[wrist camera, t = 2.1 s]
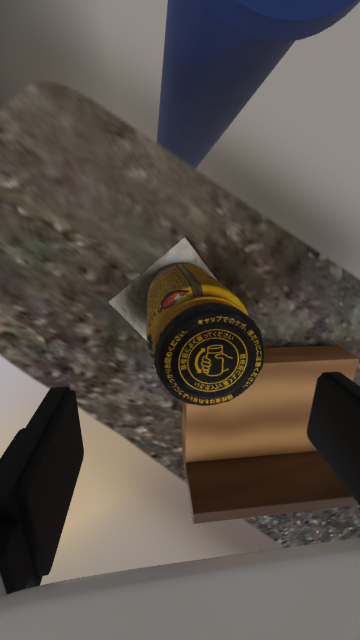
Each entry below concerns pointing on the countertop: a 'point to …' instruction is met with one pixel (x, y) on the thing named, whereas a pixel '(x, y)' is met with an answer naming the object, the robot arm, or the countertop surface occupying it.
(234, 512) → the shelf
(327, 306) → the countertop surface
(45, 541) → the robot arm
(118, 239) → the countertop surface
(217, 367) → the condiment
